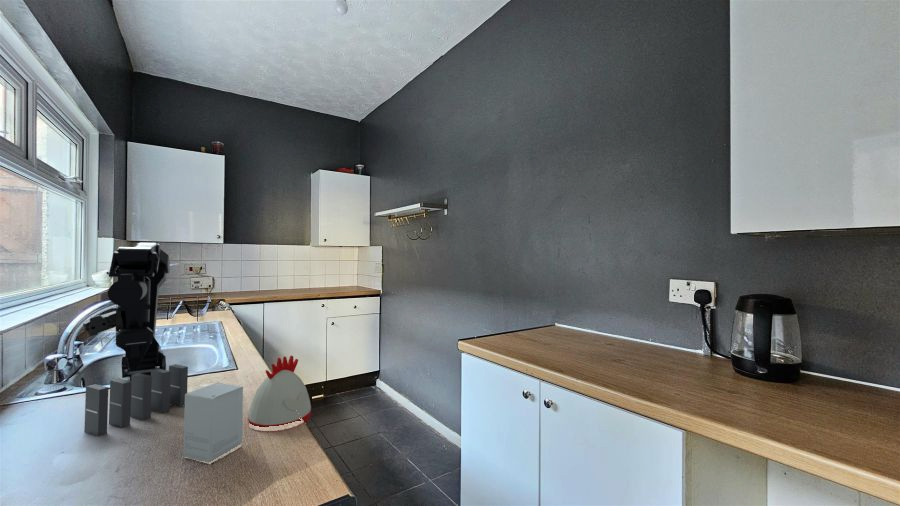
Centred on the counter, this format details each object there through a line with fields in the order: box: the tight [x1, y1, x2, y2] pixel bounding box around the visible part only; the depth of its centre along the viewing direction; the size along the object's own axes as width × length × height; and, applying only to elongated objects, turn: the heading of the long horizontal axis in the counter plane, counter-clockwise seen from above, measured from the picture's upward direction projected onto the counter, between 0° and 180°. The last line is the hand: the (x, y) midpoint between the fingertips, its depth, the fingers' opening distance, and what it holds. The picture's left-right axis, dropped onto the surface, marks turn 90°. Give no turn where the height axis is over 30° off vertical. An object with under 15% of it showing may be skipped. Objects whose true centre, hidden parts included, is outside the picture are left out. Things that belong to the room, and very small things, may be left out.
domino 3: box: [130, 373, 152, 421], centre depth 88 cm, size 2×5×10 cm, turn 69°
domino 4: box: [151, 369, 171, 414], centre depth 92 cm, size 2×5×10 cm, turn 69°
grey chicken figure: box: [247, 354, 312, 427], centre depth 90 cm, size 14×14×15 cm
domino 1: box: [83, 383, 110, 437], centre depth 81 cm, size 2×5×10 cm, turn 69°
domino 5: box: [168, 363, 189, 408], centre depth 96 cm, size 2×5×10 cm, turn 69°
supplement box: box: [182, 382, 244, 462], centre depth 74 cm, size 7×7×13 cm
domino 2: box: [108, 377, 132, 429], centre depth 84 cm, size 2×5×10 cm, turn 68°
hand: (132, 366), depth 87 cm, fingers open, 9 cm apart
